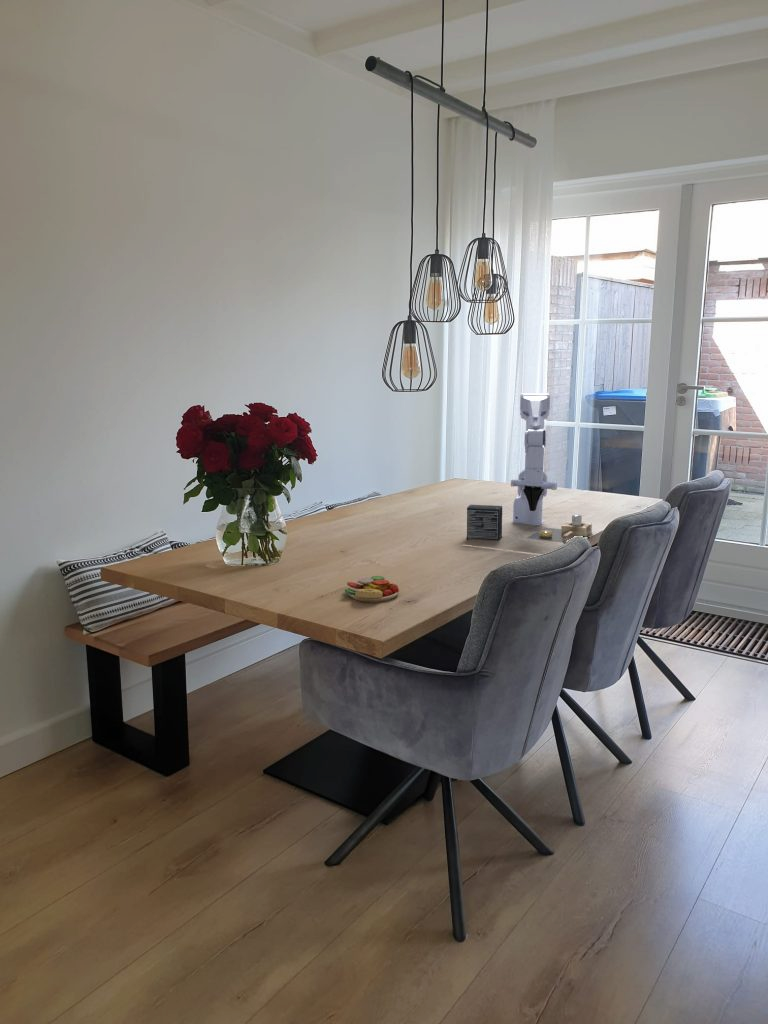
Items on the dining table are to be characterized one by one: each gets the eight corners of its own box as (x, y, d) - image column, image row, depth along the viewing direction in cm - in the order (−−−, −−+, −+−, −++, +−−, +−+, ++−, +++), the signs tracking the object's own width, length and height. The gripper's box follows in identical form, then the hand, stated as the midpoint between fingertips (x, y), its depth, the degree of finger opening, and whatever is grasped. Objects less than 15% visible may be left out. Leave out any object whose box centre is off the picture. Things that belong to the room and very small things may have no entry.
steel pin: (569, 534, 262) (570, 515, 261) (573, 532, 265) (574, 514, 263) (578, 535, 261) (579, 516, 259) (582, 533, 263) (583, 515, 262)
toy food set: (364, 607, 193) (364, 594, 192) (334, 594, 203) (334, 581, 203) (409, 597, 200) (409, 584, 200) (378, 584, 211) (378, 572, 210)
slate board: (526, 539, 258) (526, 537, 258) (544, 528, 272) (544, 527, 272) (573, 544, 250) (573, 543, 250) (589, 533, 265) (589, 532, 265)
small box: (502, 537, 261) (503, 505, 259) (499, 542, 254) (500, 509, 252) (469, 535, 263) (470, 503, 261) (466, 540, 257) (466, 507, 255)
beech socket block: (561, 534, 261) (561, 525, 261) (568, 530, 268) (568, 521, 267) (584, 537, 258) (585, 528, 257) (591, 532, 264) (591, 523, 264)
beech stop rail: (562, 541, 252) (563, 535, 252) (569, 537, 258) (569, 531, 257) (566, 542, 252) (566, 535, 251) (572, 537, 257) (573, 531, 257)
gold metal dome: (537, 537, 257) (537, 532, 257) (541, 535, 261) (541, 529, 261) (549, 539, 256) (549, 533, 255) (553, 536, 259) (554, 531, 259)
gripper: (507, 467, 256) (506, 510, 259) (552, 471, 249) (550, 514, 252) (515, 465, 262) (514, 506, 265) (559, 468, 255) (558, 510, 258)
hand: (532, 510), depth 259 cm, fingers closed
